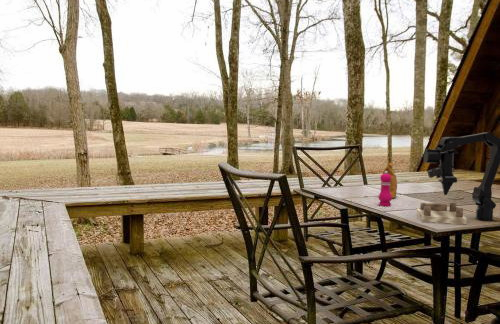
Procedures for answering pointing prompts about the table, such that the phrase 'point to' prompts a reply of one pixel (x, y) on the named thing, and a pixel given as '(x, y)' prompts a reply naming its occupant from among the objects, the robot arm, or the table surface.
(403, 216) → the table surface
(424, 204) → the hinged leg
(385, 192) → the pepper mill
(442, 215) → the stool seat
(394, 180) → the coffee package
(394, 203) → the table surface
